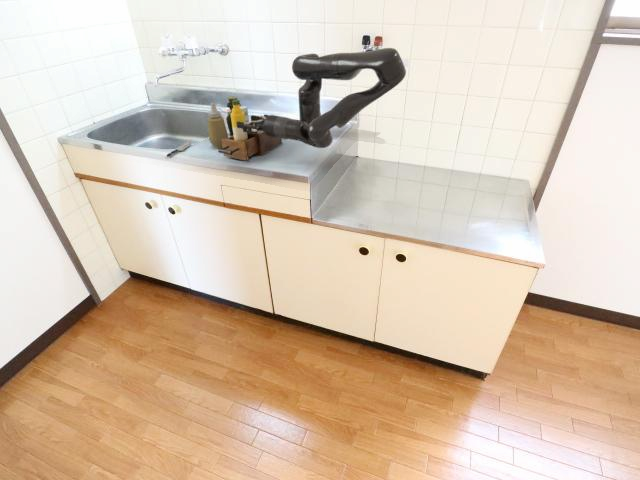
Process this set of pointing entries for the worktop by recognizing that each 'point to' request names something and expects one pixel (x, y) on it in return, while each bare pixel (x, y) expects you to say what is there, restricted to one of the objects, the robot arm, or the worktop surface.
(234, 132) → the lemon bottle
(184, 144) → the chef's knife
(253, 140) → the drawer
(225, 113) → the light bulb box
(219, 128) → the squeeze bottle
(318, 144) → the robot arm
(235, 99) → the potion bottle
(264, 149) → the cabinet
